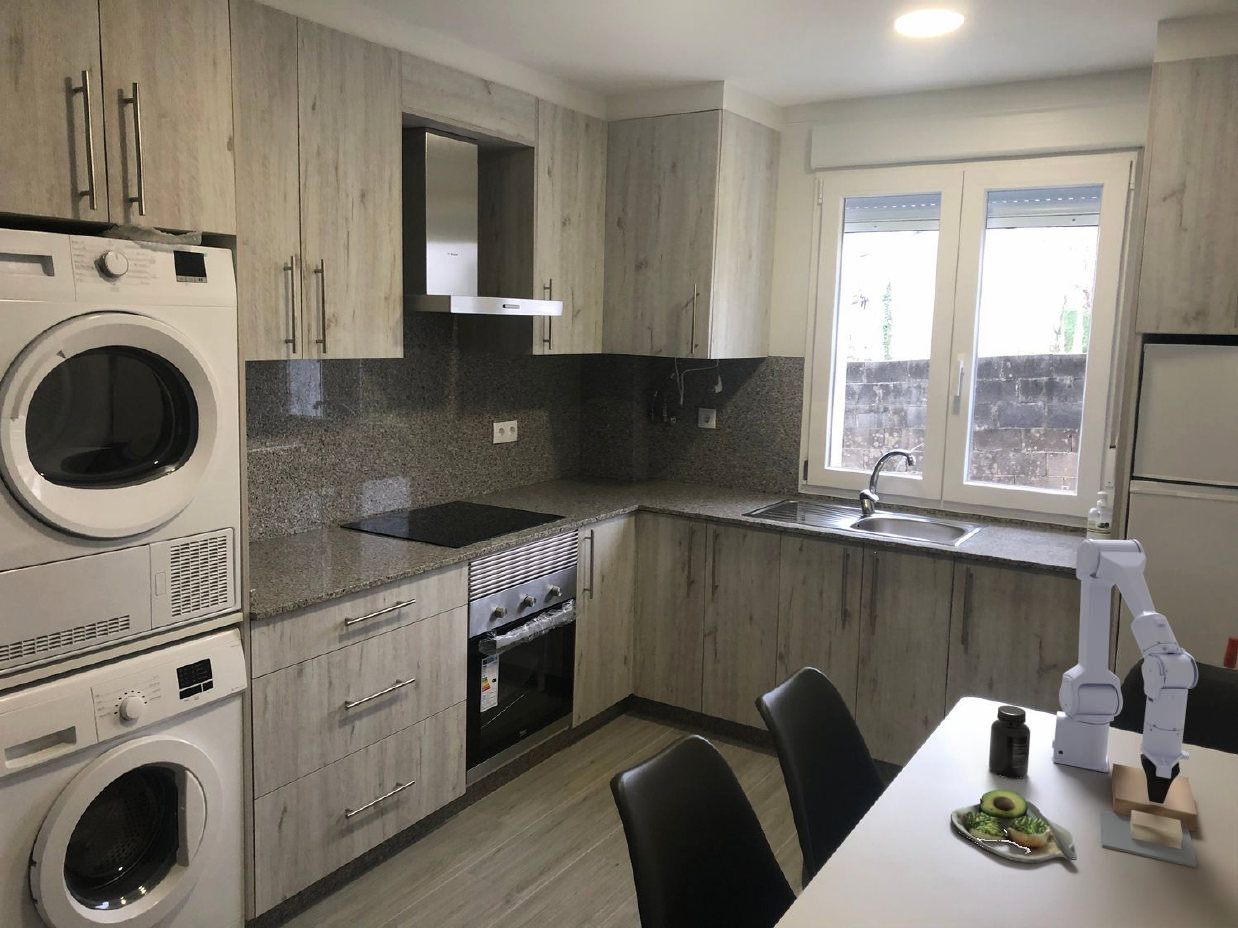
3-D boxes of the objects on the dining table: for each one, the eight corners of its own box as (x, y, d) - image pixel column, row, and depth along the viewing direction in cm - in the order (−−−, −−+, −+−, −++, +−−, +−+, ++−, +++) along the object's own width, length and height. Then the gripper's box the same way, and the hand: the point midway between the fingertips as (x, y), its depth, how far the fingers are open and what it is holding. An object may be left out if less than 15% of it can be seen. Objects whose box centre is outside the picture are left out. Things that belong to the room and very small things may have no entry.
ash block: (1131, 809, 159) (1130, 823, 159) (1132, 823, 155) (1131, 837, 155) (1180, 819, 156) (1178, 834, 156) (1182, 833, 152) (1180, 848, 152)
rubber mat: (1102, 846, 153) (1102, 844, 153) (1100, 812, 164) (1101, 810, 164) (1196, 867, 147) (1196, 865, 147) (1188, 830, 158) (1188, 828, 158)
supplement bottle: (1026, 766, 181) (1031, 706, 179) (1028, 782, 174) (1034, 719, 173) (987, 760, 183) (992, 700, 181) (988, 775, 177) (993, 713, 175)
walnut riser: (1113, 814, 163) (1115, 797, 163) (1111, 778, 177) (1113, 763, 176) (1195, 831, 158) (1197, 814, 158) (1186, 793, 172) (1188, 777, 171)
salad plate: (1111, 858, 150) (1113, 830, 149) (1028, 883, 143) (1030, 854, 142) (1013, 802, 167) (1015, 777, 167) (935, 822, 160) (937, 796, 159)
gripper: (1196, 745, 151) (1187, 825, 152) (1187, 713, 164) (1179, 788, 165) (1145, 736, 154) (1137, 815, 155) (1140, 705, 167) (1133, 779, 168)
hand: (1155, 800), depth 161 cm, fingers closed
